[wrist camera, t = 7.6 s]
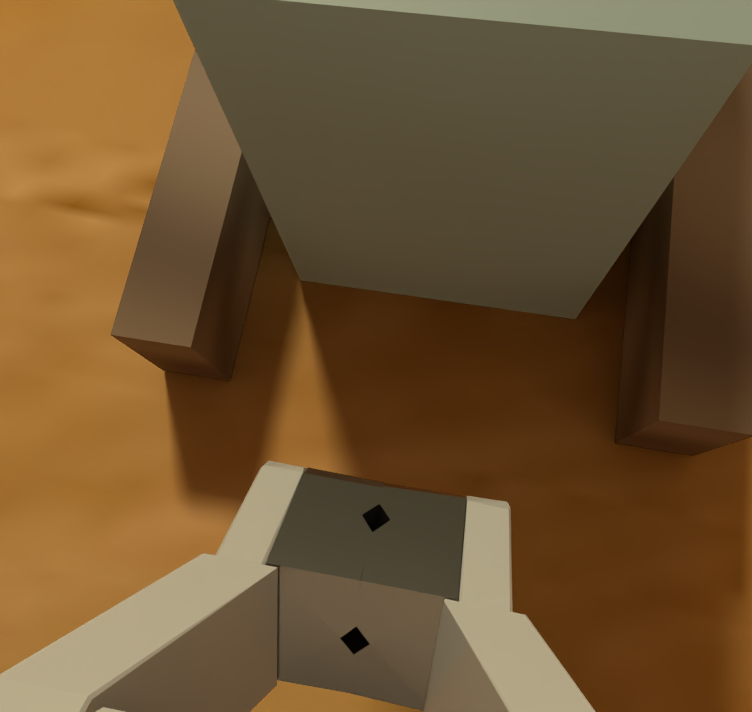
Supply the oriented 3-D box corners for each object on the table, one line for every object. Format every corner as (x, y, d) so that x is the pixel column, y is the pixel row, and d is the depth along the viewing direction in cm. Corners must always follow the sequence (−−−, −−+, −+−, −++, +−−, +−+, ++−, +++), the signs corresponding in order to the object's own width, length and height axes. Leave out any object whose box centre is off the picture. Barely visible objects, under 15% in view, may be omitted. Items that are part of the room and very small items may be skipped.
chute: (693, 455, 13) (755, 435, 11) (163, 370, 14) (110, 334, 12) (722, -153, 17) (771, -267, 15) (311, -179, 18) (295, -288, 16)
